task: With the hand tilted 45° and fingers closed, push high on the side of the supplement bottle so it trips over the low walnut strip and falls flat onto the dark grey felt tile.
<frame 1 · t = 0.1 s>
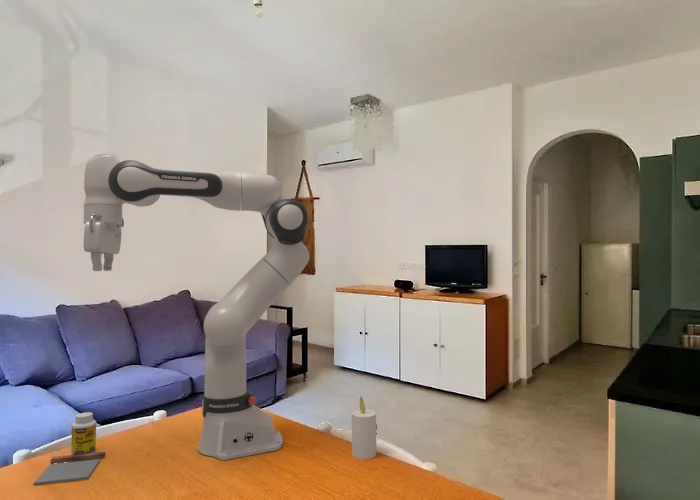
hand: (102, 271, 118), 48 cm above the table, tool pointing down, fingers open, 8 cm apart
candle: (364, 454, 118), on the table
felt tile: (68, 472, 109), on the table
supplement bottle: (83, 454, 120), on the table
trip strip: (78, 460, 116), on the table
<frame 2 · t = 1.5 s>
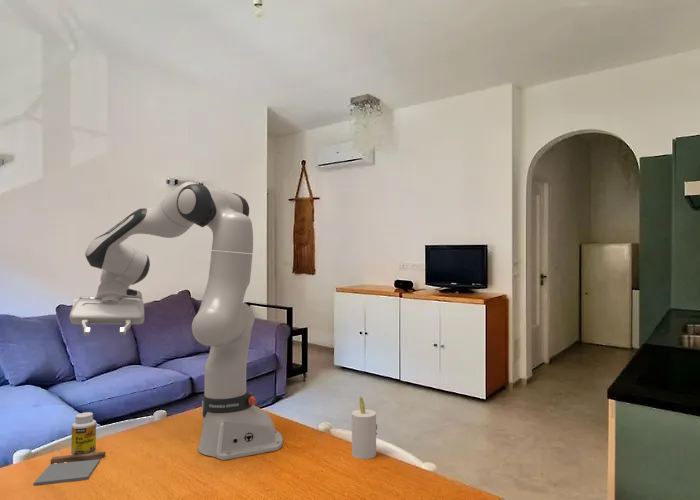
hand: (104, 334, 135), 29 cm above the table, tool tilted 45°, fingers open, 8 cm apart
nothing on the table moved.
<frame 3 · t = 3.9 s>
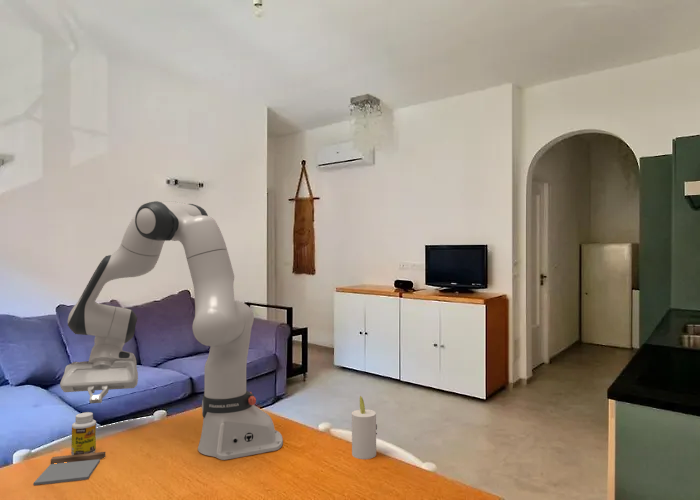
hand: (95, 402, 130), 10 cm above the table, tool tilted 45°, fingers closed
nothing on the table moved.
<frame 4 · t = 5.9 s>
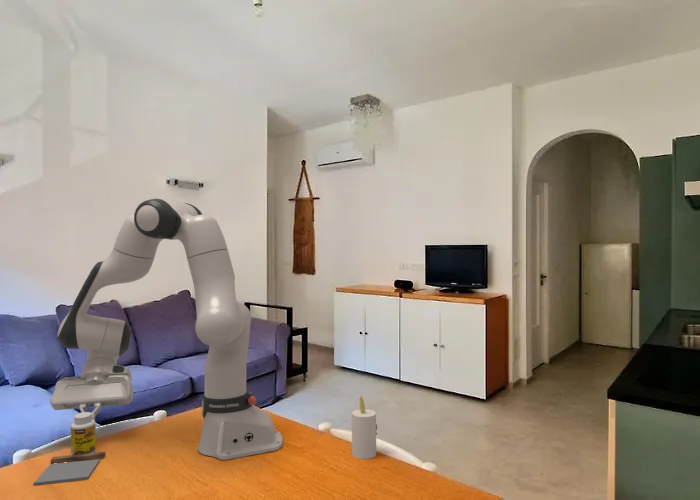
hand: (87, 420, 123), 8 cm above the table, tool tilted 45°, fingers closed, pressing on supplement bottle
supplement bottle: (83, 453, 120), on the table, touching gripper
everything else where it was.
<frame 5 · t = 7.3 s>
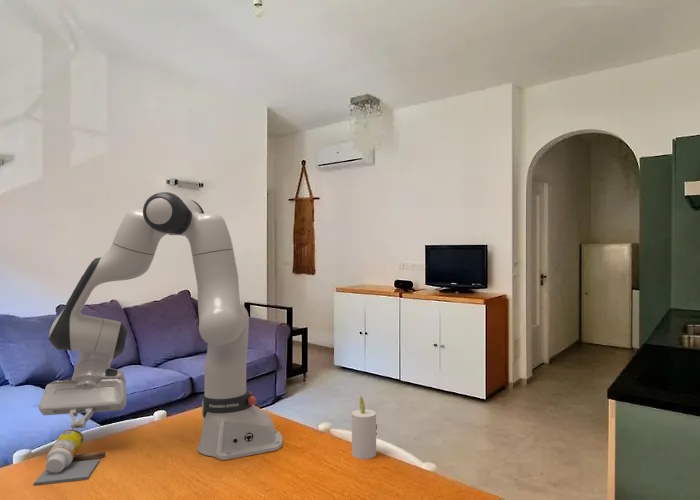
hand: (77, 427, 116), 8 cm above the table, tool tilted 45°, fingers closed
supplement bottle: (73, 436, 117), point 6 cm above the table, touching gripper
everything else where it was.
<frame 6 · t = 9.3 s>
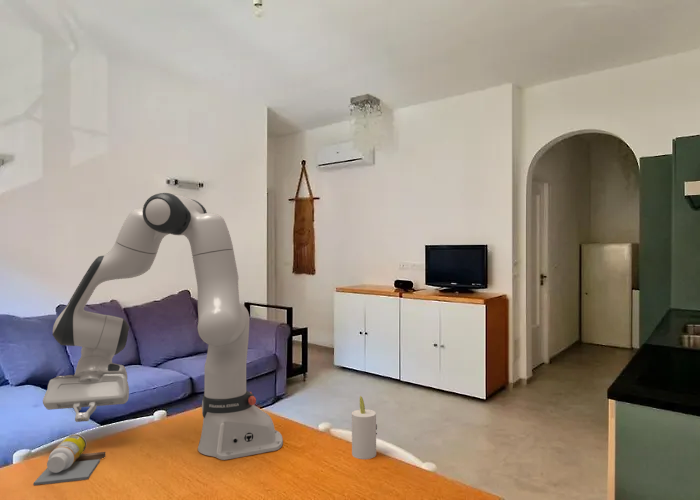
hand: (81, 420, 119), 9 cm above the table, tool tilted 45°, fingers closed
supplement bottle: (76, 443, 116), point 4 cm above the table, touching felt tile, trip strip
everything else where it was.
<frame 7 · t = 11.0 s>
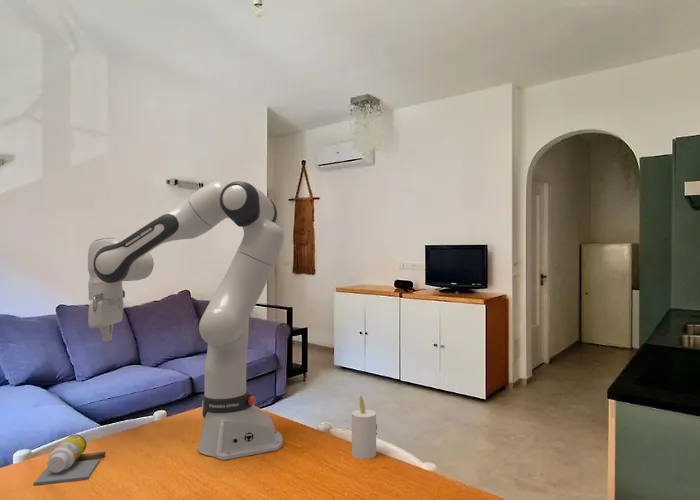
hand: (107, 340, 134), 27 cm above the table, tool pointing down, fingers closed
nothing on the table moved.
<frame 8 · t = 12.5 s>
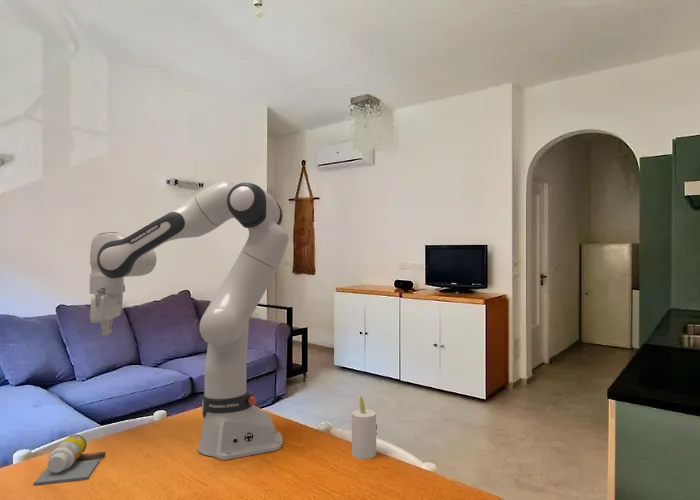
hand: (106, 334, 134), 29 cm above the table, tool pointing down, fingers closed
nothing on the table moved.
at the end: supplement bottle tilted 95°; supplement bottle inside the target area (6.4 cm from its centre), point 4.1 cm above the table; the gripper is holding nothing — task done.
